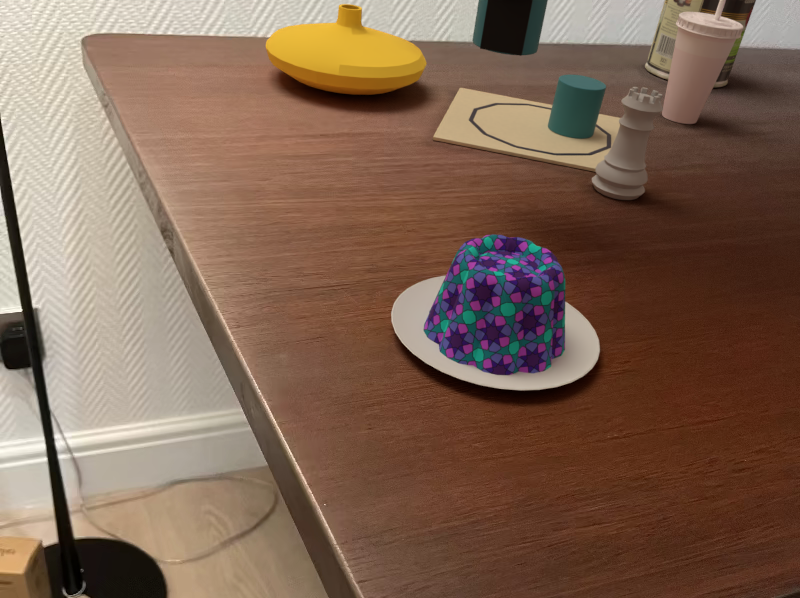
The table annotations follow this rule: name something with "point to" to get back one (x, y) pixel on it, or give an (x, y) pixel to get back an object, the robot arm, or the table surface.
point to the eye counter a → (532, 29)
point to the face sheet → (521, 130)
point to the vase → (345, 55)
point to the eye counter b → (576, 106)
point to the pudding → (498, 318)
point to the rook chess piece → (629, 148)
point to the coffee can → (663, 43)
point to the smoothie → (697, 62)
